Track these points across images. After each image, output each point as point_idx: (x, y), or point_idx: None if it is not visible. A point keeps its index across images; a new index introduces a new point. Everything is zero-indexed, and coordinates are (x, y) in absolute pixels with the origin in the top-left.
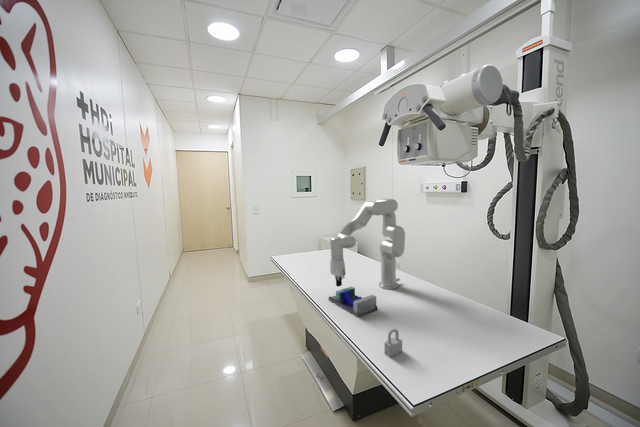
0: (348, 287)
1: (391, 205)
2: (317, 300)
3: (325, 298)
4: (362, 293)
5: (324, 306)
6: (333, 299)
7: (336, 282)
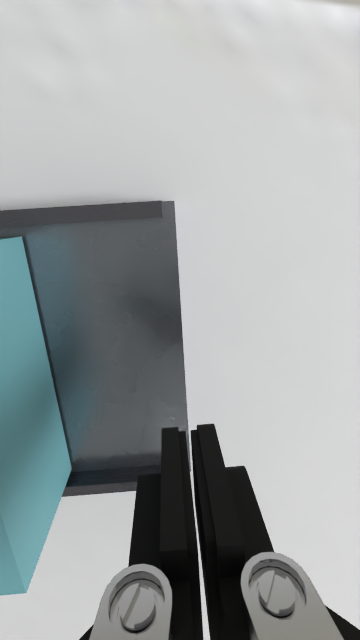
0: (3, 540)
1: None
2: (262, 48)
3: (246, 196)
4: (126, 564)
5: (22, 22)
6: (46, 208)
7: (210, 481)
